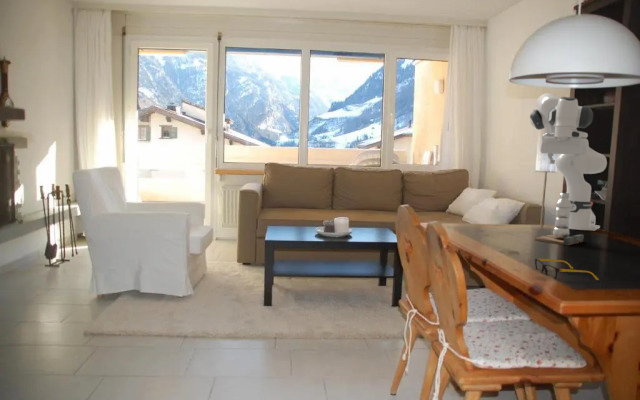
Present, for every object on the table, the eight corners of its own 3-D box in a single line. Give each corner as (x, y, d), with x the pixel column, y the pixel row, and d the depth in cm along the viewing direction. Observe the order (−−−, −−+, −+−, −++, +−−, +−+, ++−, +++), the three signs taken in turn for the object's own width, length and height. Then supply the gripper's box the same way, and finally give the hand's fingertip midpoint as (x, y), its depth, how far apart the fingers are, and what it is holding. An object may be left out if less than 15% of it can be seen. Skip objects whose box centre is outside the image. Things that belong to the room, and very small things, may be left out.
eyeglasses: (531, 269, 170) (532, 257, 169) (573, 270, 171) (574, 258, 171) (553, 281, 156) (555, 268, 155) (599, 281, 157) (600, 268, 156)
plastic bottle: (553, 239, 221) (557, 193, 218) (551, 236, 227) (555, 192, 225) (569, 240, 219) (574, 194, 216) (567, 238, 225) (571, 193, 223)
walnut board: (551, 236, 234) (551, 230, 234) (583, 241, 223) (583, 234, 223) (534, 240, 223) (535, 233, 223) (567, 245, 213) (567, 238, 213)
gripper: (539, 133, 236) (536, 163, 237) (585, 133, 220) (582, 165, 222) (545, 133, 240) (543, 163, 241) (591, 133, 224) (588, 165, 226)
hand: (562, 164), depth 231 cm, fingers open, 8 cm apart
